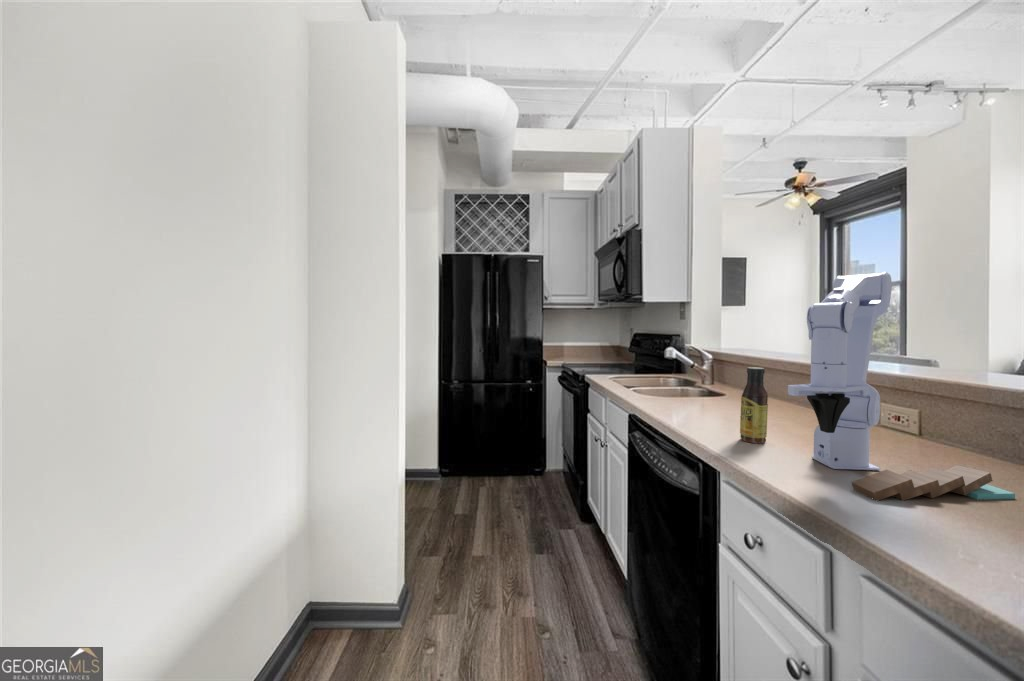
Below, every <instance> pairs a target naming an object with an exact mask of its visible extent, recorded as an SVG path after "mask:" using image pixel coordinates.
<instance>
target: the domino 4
mask: <svg viewBox="0 0 1024 681" xmlns="http://www.w3.org/2000/svg"><path fill="white" fill-rule="evenodd" d="M945 471H947V472H951V473H954V474H958V475H961V476H963V478H964V482H965V485H962V486H960V487H958V488H955V489H953V490H951V491H950V492H951V493H955V494H958V495H962V496H966V495H967V494H969V493H970V492H972V491H974V490H976V489H978V488H980V487H982V486H984V485H986V484H988V485H989V484H990V483H992V482H993V481H994V479H993V477H992V474H991V473H992V472H989V471H986V470H980V469H975V468H971V467H969V466H968V467H967V466H962V465H957V464H955V465H954V466H952V467H949V468H948V469H946V470H945Z"/></svg>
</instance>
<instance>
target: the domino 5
mask: <svg viewBox="0 0 1024 681" xmlns="http://www.w3.org/2000/svg"><path fill="white" fill-rule="evenodd" d="M965 496H966V497H969V498H972V499H974V500H979V499H980V501H981V500H982V499H984V500H1014V499H1016V492H1011V491H1008V490H1005V489H1002V488H999V487H996V486H993V485H991V484H989V483H988V484H986V485H984V486H982V487H980V488H978V489H976V490H974V491H972V492H970V493H969V494H967V495H965Z"/></svg>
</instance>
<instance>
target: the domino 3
mask: <svg viewBox="0 0 1024 681" xmlns="http://www.w3.org/2000/svg"><path fill="white" fill-rule="evenodd" d="M919 473H920V474H923V475H926V476H928V477H931V478H934V479H937V480H938V482H939V486H940V489H937V490H934V491H931V492H928V493H925V494H922V496H924V497H927V498H930V499H934V498H937V497H939V496H941V495H944V494H946V493H948V492H951V490H953V489H955V488H958V487H960V486H962V485H965V482H964V478H963V476H961V475H958V474H954V473H951V472H947V471H946V470H944V469H939V468H937V467H933V466H932V467H929V468H927V469H924V470H922V471H920V472H919Z"/></svg>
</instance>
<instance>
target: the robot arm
mask: <svg viewBox="0 0 1024 681" xmlns="http://www.w3.org/2000/svg"><path fill="white" fill-rule="evenodd" d="M892 281H893V280H892V276H891V274H890V273H888V271H883V272H881V273H880V272H878V273H867V274H866V273H865V274H864V273H863V274H852V275H837V276H836V278H834V280H833V283H832V291H830V292H829V293H827V295H826V296H825V298H823V300H822V301H821V302H816V303H813V305H810V306H808V309H807V312H806V325H807V328H808V340H810V341H811V346H810V383H805V384H804V383H803V384H788V385H787V395H789V396H793V397H799V396H806V398H807V401H808V402H809V403H810V405H811V407H812V409H813V411H814V414H815V416H816V418H817V423H818V425H817V426H816V427H815V428H814V432H813V455H812V456H811V459H812V460H813V459H814V460H815V461H816V462H819V463H821V464H823V465H825V466H827V467H829V468H830V469H833V470H861V471H864V470H865V471H880V470H881V468H880V467H878V466H876V465H874V464H872V463H870V444H871V443H870V440H871V439H870V438H871V427H875V426H876V425H878V424H879V421H880V418H881V416H880V415H881V395H880V393H879V391H878V390H877V389H876V388H875V387H873V386H872V385H870V384H869V383H868V382H867V377H868V371H869V370H868V369H869V365H870V358H871V353H872V352H871V350H872V344H873V338H874V331H875V326H876V323H877V320H878V319H879V318H878V317H880V316H882V315H884V314H886V313H888V309H889V308H890V305H891V298H892V286H893V284H892Z"/></svg>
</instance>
